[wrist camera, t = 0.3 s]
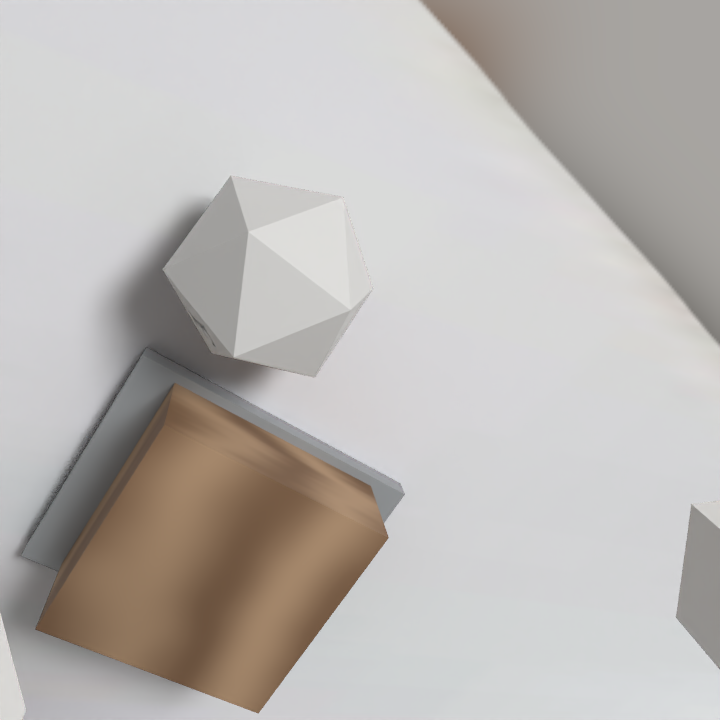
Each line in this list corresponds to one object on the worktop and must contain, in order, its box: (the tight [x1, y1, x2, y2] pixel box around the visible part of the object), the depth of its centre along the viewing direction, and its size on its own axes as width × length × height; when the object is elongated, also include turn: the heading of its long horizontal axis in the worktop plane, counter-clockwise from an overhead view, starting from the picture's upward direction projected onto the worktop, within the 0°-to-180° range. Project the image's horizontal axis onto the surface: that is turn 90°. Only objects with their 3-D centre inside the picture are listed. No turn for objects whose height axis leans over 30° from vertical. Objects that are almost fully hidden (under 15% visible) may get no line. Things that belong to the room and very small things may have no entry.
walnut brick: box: [36, 383, 388, 713], centre depth 35 cm, size 12×12×5 cm
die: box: [162, 176, 373, 377], centre depth 31 cm, size 8×9×10 cm
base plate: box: [21, 347, 405, 571], centre depth 38 cm, size 16×13×1 cm
